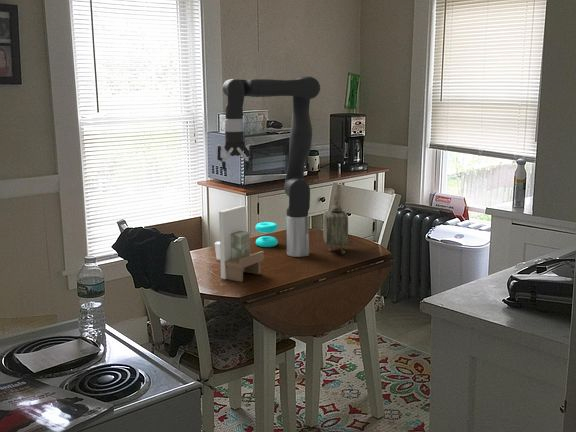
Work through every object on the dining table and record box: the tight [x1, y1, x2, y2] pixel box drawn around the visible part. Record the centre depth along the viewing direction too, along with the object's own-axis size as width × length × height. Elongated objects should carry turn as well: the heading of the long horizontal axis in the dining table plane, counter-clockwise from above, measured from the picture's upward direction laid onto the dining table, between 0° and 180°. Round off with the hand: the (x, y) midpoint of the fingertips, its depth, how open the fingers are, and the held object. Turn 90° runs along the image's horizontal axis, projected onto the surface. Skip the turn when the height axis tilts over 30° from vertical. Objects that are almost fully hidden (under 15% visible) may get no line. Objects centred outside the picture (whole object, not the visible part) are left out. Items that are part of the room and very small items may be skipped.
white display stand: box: [218, 205, 265, 283], centre depth 240 cm, size 10×14×26 cm
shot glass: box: [214, 240, 220, 261], centre depth 267 cm, size 7×7×7 cm
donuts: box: [255, 221, 279, 248], centre depth 288 cm, size 10×10×10 cm
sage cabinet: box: [231, 231, 251, 260], centre depth 240 cm, size 6×6×10 cm
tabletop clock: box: [322, 194, 349, 255], centre depth 275 cm, size 14×9×25 cm, turn 4°
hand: (235, 170), depth 255 cm, fingers open, 8 cm apart
